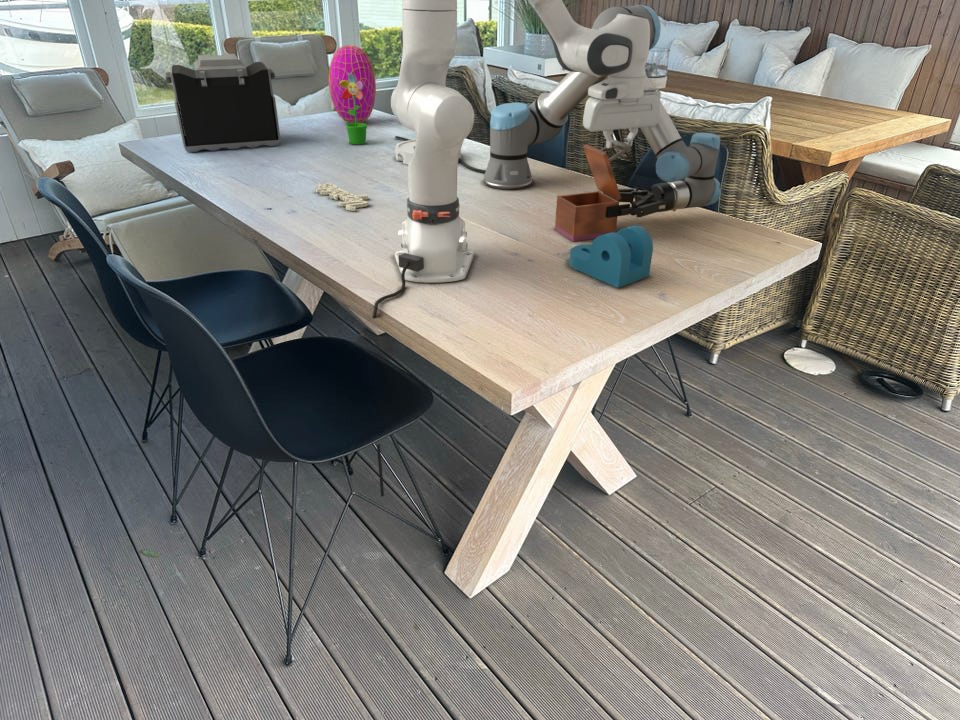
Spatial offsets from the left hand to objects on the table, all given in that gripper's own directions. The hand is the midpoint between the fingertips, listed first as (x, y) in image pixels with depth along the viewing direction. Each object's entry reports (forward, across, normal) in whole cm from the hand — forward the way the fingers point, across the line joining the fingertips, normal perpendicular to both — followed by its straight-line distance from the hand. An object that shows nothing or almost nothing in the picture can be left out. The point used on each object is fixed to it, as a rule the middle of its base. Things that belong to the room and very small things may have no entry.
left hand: (618, 146), depth 172 cm
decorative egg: (+21, +31, -153) cm, 158 cm away
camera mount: (+21, +17, +24) cm, 36 cm away
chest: (+21, +8, 0) cm, 23 cm away
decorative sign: (+21, +60, -51) cm, 82 cm away
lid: (+6, +5, 0) cm, 8 cm away
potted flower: (+21, +39, -117) cm, 125 cm away
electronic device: (+21, +84, -132) cm, 158 cm away
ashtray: (+21, +21, -86) cm, 91 cm away
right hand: (+15, +5, 0) cm, 15 cm away
